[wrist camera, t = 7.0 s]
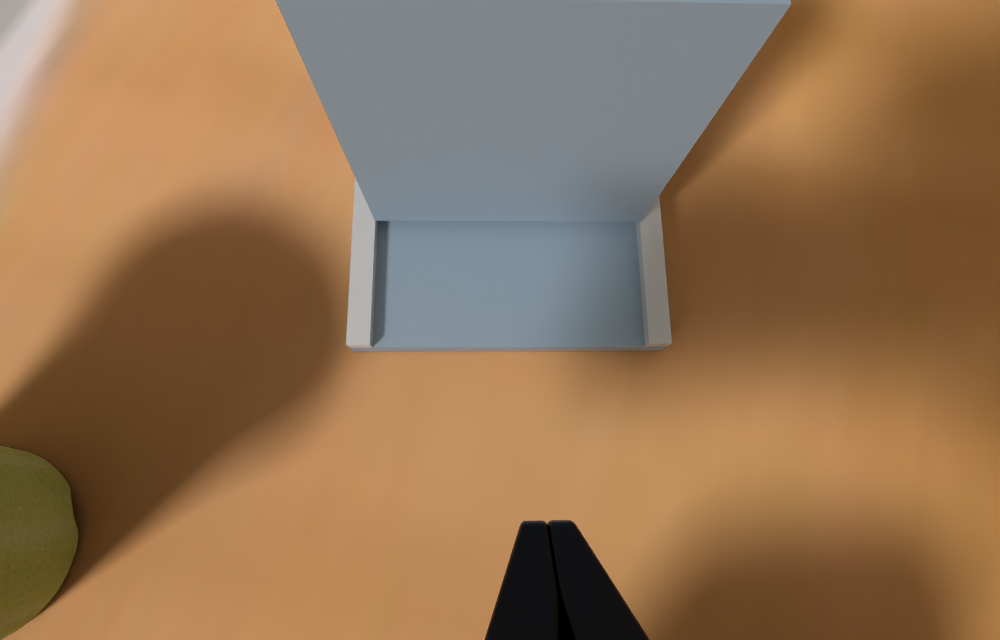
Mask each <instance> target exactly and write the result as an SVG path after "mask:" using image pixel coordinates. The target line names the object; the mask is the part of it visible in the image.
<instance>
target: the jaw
mask: <svg viewBox="0 0 1000 640" xmlns="http://www.w3.org/2000/svg"><path fill="white" fill-rule="evenodd" d="M276 2H277V5H278V7H279V9H280V11H281V13H282V16H283V18H284V20H285V22H286V25H287V27H288V29H289V31H290V33H291V36H292V38H293V40H294V42H295V45H296V47H297V49H298V51H299V53H300V56H301V58H302V60H303V62H304V65H305V67H306V69H307V71H308V73H309V76H310V78H311V80H312V82H313V84H314V87H315V89H316V91H317V93H318V96H319V98H320V100H321V102H322V104H323V107H324V109H325V111H326V113H327V116H328V118H329V120H330V122H331V124H332V127H333V129H334V131H335V133H336V136H337V138H338V140H339V142H340V144H341V147H342V149H343V151H344V153H345V156H346V158H347V160H348V162H349V164H350V167H351V169H352V171H353V173H354V176H355V178H356V180H357V182H358V184H359V187H360V189H361V191H362V193H363V196H364V198H365V200H366V202H367V204H368V207H369V209H370V211H371V213H372V216H373V218H374V220H375V221H560V222H641V221H642V220H643V218H644V217H645V215H646V214H647V212H648V211H649V209H650V208H651V207H652V205H653V204H654V202H655V201H656V199H657V198H658V196H659V195H660V194H661V192H662V191H663V189H664V188H665V186H666V185H667V183H668V182H669V181H670V179H671V178H672V176H673V175H674V173H675V172H676V170H677V169H678V168H679V166H680V165H681V163H682V162H683V160H684V159H685V157H686V156H687V155H688V153H689V152H690V150H691V149H692V147H693V146H694V144H695V143H696V141H697V140H698V139H699V137H700V136H701V134H702V133H703V131H704V130H705V128H706V127H707V126H708V124H709V123H710V121H711V120H712V118H713V117H714V115H715V114H716V113H717V111H718V110H719V108H720V107H721V105H722V104H723V102H724V101H725V100H726V98H727V97H728V95H729V94H730V92H731V91H732V89H733V88H734V87H735V85H736V84H737V82H738V81H739V79H740V78H741V76H742V75H743V74H744V72H745V71H746V69H747V68H748V66H749V65H750V63H751V62H752V60H753V59H754V58H755V56H756V55H757V53H758V52H759V50H760V49H761V47H762V46H763V45H764V43H765V42H766V40H767V39H768V37H769V36H770V34H771V33H772V32H773V30H774V29H775V27H776V26H777V24H778V23H779V21H780V20H781V19H782V17H783V16H784V14H785V13H786V11H787V10H788V8H789V7H790V6H791V0H276Z"/></svg>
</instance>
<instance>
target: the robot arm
mask: <svg viewBox="0 0 1000 640" xmlns="http://www.w3.org/2000/svg"><path fill="white" fill-rule="evenodd" d="M485 640H649V638H648V637H647V635H646V633H645V632H644V630H643V629H642V627H641V626H640V624H639V623H638V621H637V619H636V618H635V616H634V615H633V613H632V612H631V610H630V608H629V607H628V605H627V604H626V602H625V601H624V599H623V598H622V596H621V594H620V593H619V591H618V590H617V588H616V587H615V585H614V584H613V582H612V580H611V579H610V577H609V576H608V574H607V573H606V571H605V569H604V568H603V566H602V565H601V563H600V562H599V560H598V559H597V557H596V555H595V554H594V552H593V551H592V549H591V548H590V546H589V545H588V543H587V541H586V540H585V538H584V537H583V535H582V534H581V532H580V530H579V529H578V527H577V526H576V525H575V523H574V522H572V521H570V520H552V521H549V522H548V524H546V522H544V521H523V522H522V523H521V525H520V527H519V531H518V534H517V537H516V540H515V544H514V547H513V550H512V553H511V556H510V560H509V563H508V566H507V569H506V573H505V576H504V579H503V582H502V585H501V589H500V592H499V595H498V598H497V602H496V605H495V608H494V611H493V614H492V618H491V621H490V624H489V627H488V631H487V634H486V637H485Z"/></svg>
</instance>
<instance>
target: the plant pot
mask: <svg viewBox="0 0 1000 640" xmlns="http://www.w3.org/2000/svg"><path fill="white" fill-rule="evenodd" d="M78 537H79V536H78V529H77V526H76V522H75V518H74V514H73V506H72V500H71V488H70V486H69V484H68V483H67V481H66V480H65V478H64V476H63V475H62V474H61V473H60V472H59V471H58V470H57V469H56V468H55V467H54V466H53V465H52V464H50V463H49V462H48V461H46V460H45V459H43V458H41V457H40V456H37V455H35V454H32V453H30V452H27V451H23V450H19V449H14V448H9V447H5V446H0V640H2V639H3V638H5V637H7V636H8V635H10V634H12V633H14V632H15V631H17V630H18V629H20V628H21V627H22V626H24V625H25V624H26V623H28V622H29V621H30V620H32V619H33V618H34V617H35V616H36V615H37V614H38V613H39V612H40V611H41V610H42V609H43V608H44V607H45V606H46V605H47V604H48V603H49V602H50V600H51V599H52V598H53V597H54V595H55V594H56V593H57V591H58V590H59V589H60V587H61V585H62V583H63V581H64V580H65V578H66V576H67V574H68V572H69V569H70V567H71V564H72V562H73V559H74V556H75V553H76V549H77V544H78Z"/></svg>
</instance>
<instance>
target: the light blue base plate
mask: <svg viewBox="0 0 1000 640" xmlns="http://www.w3.org/2000/svg"><path fill="white" fill-rule="evenodd" d="M671 344H672V337H671V325H670V314H669V302H668V290H667V279H666V267H665V255H664V244H663V232H662V220H661V209H660V197H659V196H658V198H657V199H656V201H655V202H654V204H653V205H652V207H651V208H650V209H649V211H648V212H647V214H646V215H645V217H644V218H643V220H642V221H641V222H560V221H375V220H374V218H373V216H372V213H371V211H370V209H369V207H368V204H367V202H366V200H365V198H364V196H363V193H362V191H361V189H360V187H359V184H358V182H357V180H356V178H355V190H354V208H353V226H352V244H351V262H350V280H349V297H348V315H347V333H346V345H347V346H348V347H349V348H350V349H351V350H353V351H354V352H430V351H660V350H662V349H664V348H665V347H667V346H669V345H671Z"/></svg>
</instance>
